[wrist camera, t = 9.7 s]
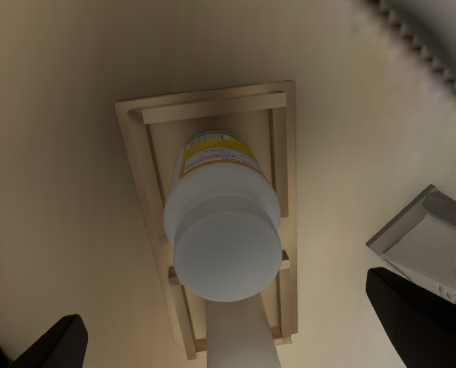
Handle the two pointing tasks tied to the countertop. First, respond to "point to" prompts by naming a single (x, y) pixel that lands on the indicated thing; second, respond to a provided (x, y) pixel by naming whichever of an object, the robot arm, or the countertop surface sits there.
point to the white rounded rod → (239, 335)
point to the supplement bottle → (222, 219)
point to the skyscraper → (423, 243)
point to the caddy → (163, 170)
